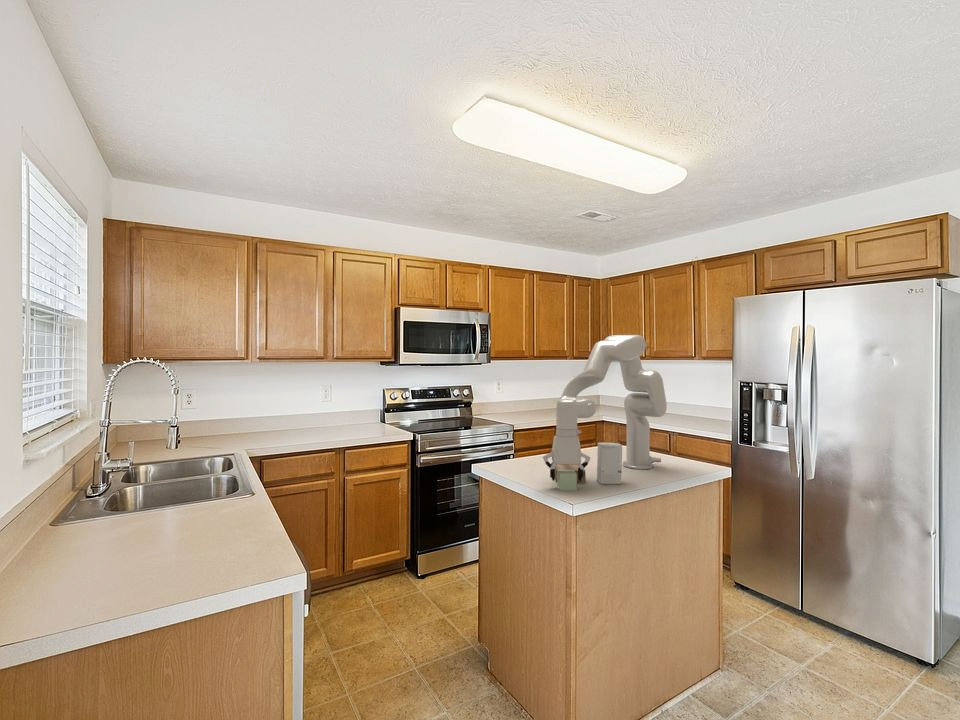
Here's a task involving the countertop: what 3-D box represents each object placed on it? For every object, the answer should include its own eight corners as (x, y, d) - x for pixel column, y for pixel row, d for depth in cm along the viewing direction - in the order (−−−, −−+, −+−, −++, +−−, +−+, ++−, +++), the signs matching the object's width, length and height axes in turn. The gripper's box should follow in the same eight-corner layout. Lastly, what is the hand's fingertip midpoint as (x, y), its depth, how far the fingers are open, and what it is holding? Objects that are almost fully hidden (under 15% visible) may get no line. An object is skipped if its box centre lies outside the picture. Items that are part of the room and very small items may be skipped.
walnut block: (582, 476, 193) (581, 463, 193) (585, 484, 182) (585, 470, 182) (554, 475, 194) (554, 463, 194) (556, 483, 183) (556, 470, 183)
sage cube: (573, 485, 179) (573, 469, 179) (576, 490, 173) (576, 474, 173) (557, 485, 179) (557, 469, 179) (559, 490, 173) (559, 474, 173)
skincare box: (600, 484, 181) (600, 445, 180) (596, 480, 187) (596, 441, 186) (622, 484, 181) (622, 444, 180) (618, 479, 187) (618, 441, 186)
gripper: (588, 431, 179) (587, 477, 180) (541, 431, 180) (541, 476, 180) (592, 435, 172) (592, 482, 172) (544, 434, 172) (543, 482, 172)
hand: (566, 479), depth 176 cm, fingers open, 9 cm apart
